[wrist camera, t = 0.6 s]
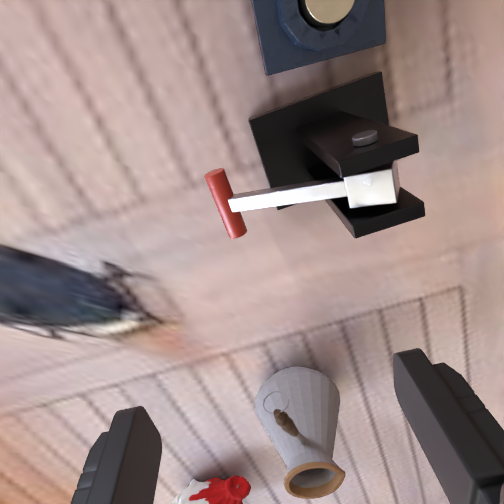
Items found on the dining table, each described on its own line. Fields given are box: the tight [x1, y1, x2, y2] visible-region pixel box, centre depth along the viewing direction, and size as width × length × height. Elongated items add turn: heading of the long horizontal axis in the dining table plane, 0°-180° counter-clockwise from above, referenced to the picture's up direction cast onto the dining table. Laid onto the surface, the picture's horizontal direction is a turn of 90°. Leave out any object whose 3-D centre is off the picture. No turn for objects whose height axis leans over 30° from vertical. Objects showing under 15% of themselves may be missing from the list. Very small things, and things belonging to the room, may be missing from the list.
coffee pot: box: [255, 367, 345, 499], centre depth 39 cm, size 21×12×15 cm, turn 18°
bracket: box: [248, 72, 425, 238], centre depth 26 cm, size 12×9×15 cm
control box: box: [251, 0, 386, 76], centre depth 26 cm, size 10×8×4 cm
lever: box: [205, 160, 400, 238], centre depth 24 cm, size 13×5×2 cm, turn 109°
